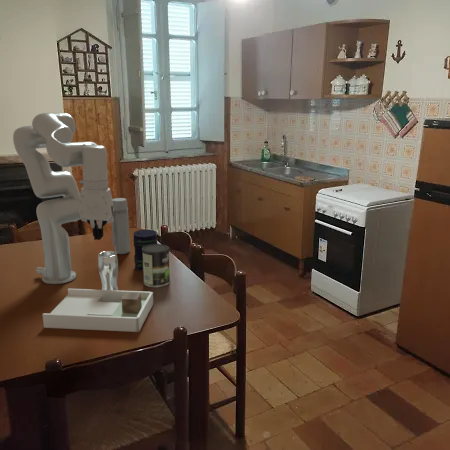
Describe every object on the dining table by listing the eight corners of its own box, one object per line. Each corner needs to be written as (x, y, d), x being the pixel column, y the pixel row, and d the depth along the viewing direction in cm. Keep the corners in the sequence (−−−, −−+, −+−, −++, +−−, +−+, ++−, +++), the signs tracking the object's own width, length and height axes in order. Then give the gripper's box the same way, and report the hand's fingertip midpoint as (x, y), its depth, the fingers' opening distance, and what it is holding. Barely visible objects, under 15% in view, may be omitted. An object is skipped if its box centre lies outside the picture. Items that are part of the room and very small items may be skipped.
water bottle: (122, 248, 211) (119, 197, 204) (134, 251, 207) (131, 199, 200) (107, 253, 204) (103, 200, 197) (118, 257, 200) (115, 203, 193)
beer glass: (102, 297, 159) (99, 258, 155) (98, 290, 165) (95, 252, 161) (121, 294, 162) (119, 255, 158) (117, 287, 168) (114, 249, 164)
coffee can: (173, 278, 177) (172, 244, 173) (165, 288, 167) (164, 253, 163) (149, 276, 179) (147, 242, 175) (139, 286, 169) (137, 251, 165)
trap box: (44, 327, 138) (42, 314, 137) (69, 300, 157) (68, 288, 156) (138, 331, 136) (138, 318, 135) (153, 303, 155) (153, 291, 154)
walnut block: (122, 313, 143) (121, 298, 141) (126, 306, 147) (126, 292, 146) (137, 313, 142) (136, 299, 141) (141, 306, 147) (141, 292, 146)
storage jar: (160, 263, 193) (159, 230, 189) (155, 271, 184) (153, 236, 180) (138, 262, 194) (136, 229, 190) (131, 270, 185) (129, 236, 181)
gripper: (68, 185, 139) (71, 240, 145) (114, 188, 138) (116, 244, 143) (78, 180, 146) (81, 233, 152) (122, 183, 145) (123, 236, 151)
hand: (98, 238), depth 148 cm, fingers closed
